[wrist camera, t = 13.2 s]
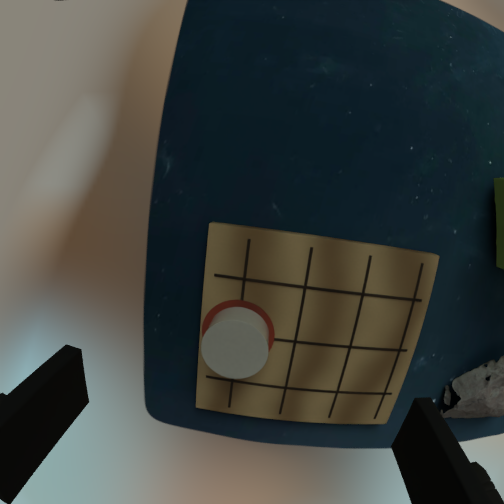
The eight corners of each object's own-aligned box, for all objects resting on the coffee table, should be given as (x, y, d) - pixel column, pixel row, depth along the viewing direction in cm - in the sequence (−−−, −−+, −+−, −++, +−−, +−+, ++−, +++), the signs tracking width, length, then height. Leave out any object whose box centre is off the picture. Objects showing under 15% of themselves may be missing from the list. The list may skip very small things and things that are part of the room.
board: (198, 400, 37) (195, 408, 35) (212, 221, 32) (209, 223, 31) (383, 417, 36) (386, 424, 34) (433, 253, 31) (440, 256, 30)
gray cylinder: (206, 356, 34) (199, 373, 30) (210, 302, 32) (202, 315, 29) (264, 365, 33) (263, 383, 30) (273, 311, 32) (273, 325, 29)
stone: (485, 311, 35) (422, 393, 39) (505, 329, 27) (427, 424, 31) (543, 359, 31) (483, 432, 35) (565, 381, 23) (494, 463, 27)
